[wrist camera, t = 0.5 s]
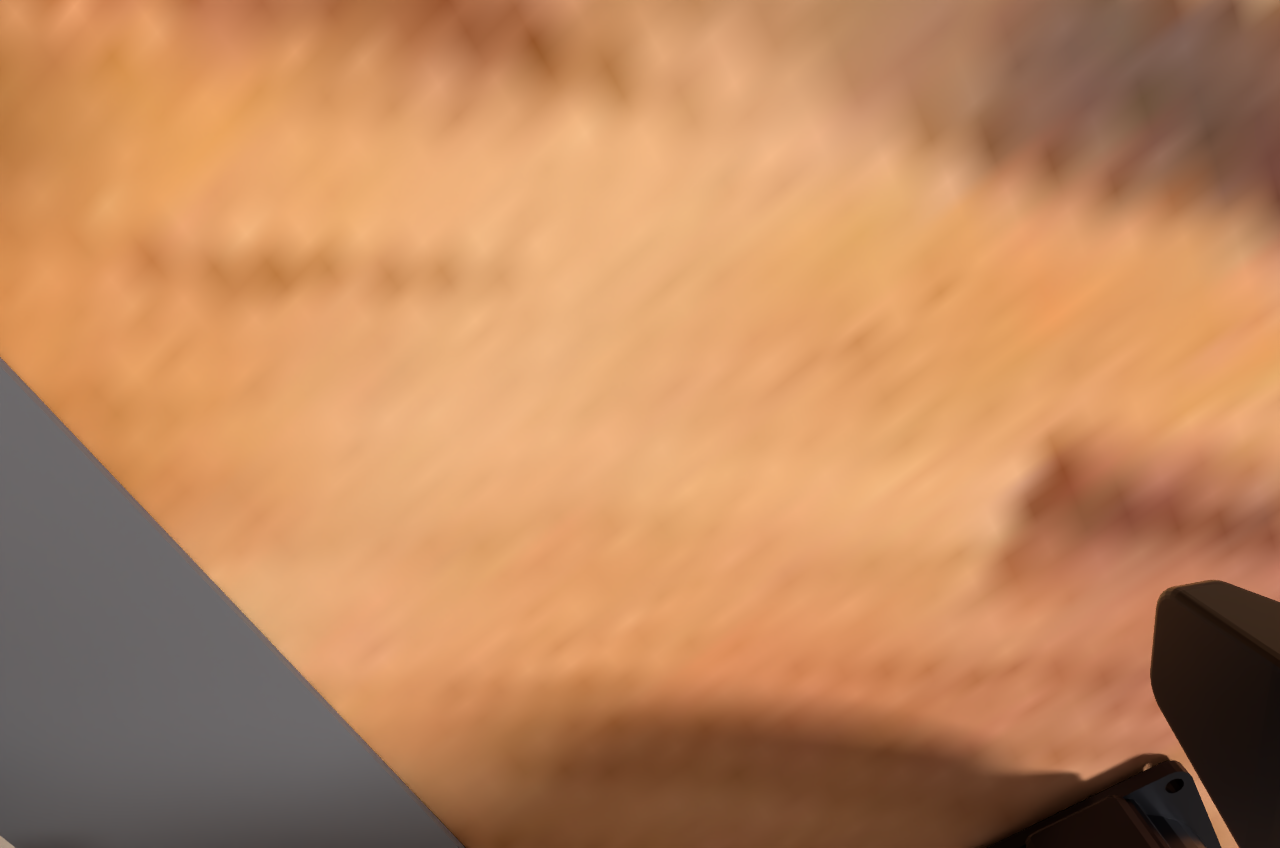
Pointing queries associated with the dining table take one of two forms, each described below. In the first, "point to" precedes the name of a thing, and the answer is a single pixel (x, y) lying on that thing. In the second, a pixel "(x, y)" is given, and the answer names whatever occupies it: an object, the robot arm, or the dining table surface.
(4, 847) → the plank
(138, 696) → the underlay mat
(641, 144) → the dining table surface
